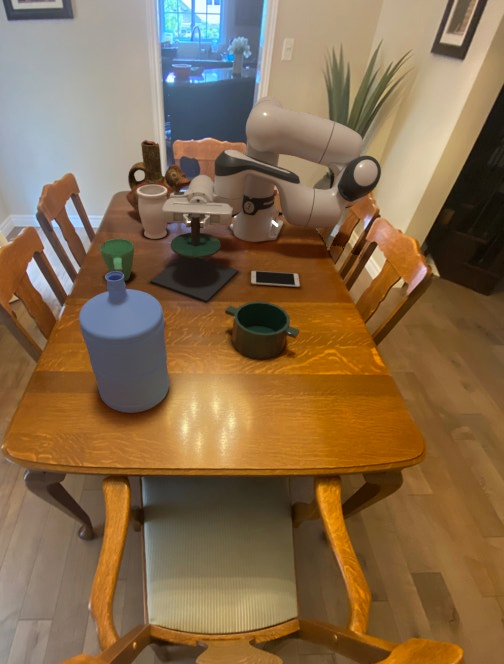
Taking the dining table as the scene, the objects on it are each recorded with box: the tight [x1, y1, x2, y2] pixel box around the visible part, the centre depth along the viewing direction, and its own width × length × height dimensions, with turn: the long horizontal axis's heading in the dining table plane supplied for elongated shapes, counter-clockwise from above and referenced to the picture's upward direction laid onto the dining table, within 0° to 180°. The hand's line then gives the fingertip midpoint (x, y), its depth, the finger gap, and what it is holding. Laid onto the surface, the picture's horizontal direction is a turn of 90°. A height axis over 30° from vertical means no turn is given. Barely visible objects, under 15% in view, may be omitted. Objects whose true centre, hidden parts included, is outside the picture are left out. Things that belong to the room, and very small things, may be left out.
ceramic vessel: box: [125, 139, 192, 213], centre depth 134 cm, size 17×26×25 cm, turn 77°
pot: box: [224, 300, 301, 360], centre depth 92 cm, size 14×19×8 cm
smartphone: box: [250, 270, 301, 288], centre depth 114 cm, size 8×1×15 cm
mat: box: [150, 256, 239, 303], centre depth 114 cm, size 20×20×1 cm
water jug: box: [78, 271, 170, 414], centre depth 72 cm, size 16×16×28 cm
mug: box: [99, 238, 135, 282], centre depth 109 cm, size 15×10×10 cm
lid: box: [170, 214, 221, 259], centre depth 104 cm, size 15×15×9 cm
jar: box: [137, 185, 168, 240], centre depth 128 cm, size 11×10×15 cm
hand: (195, 225), depth 102 cm, fingers closed on lid, 2 cm apart
